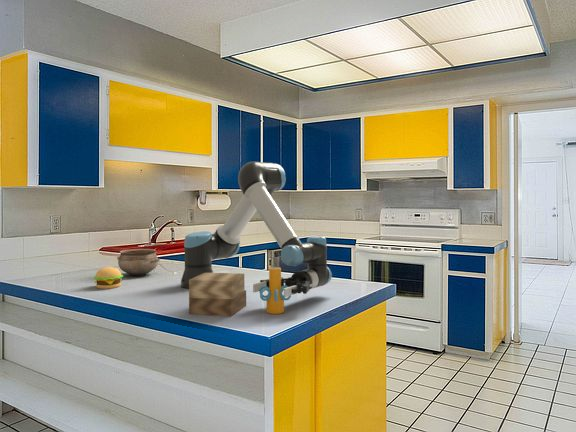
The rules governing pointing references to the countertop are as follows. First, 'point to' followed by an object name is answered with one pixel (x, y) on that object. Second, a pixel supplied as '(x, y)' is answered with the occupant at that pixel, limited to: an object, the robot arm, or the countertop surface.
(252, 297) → the countertop surface
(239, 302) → the tower base
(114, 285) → the hamburger
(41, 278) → the countertop surface
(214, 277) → the tower top
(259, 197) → the robot arm
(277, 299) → the orange tall piece
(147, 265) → the cooking pot
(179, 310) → the countertop surface
